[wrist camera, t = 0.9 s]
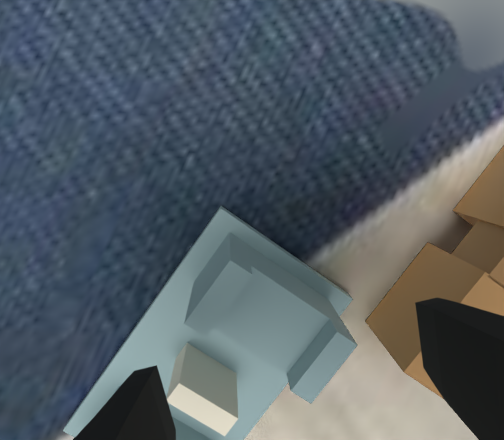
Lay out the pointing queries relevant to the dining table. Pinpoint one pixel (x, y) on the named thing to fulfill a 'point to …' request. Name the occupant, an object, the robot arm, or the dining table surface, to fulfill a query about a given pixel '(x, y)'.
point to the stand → (231, 335)
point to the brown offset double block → (449, 274)
